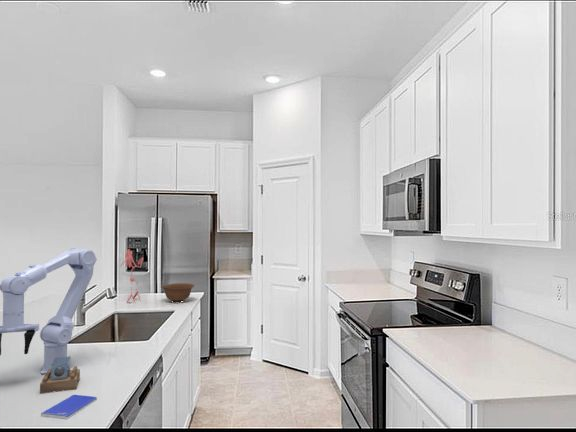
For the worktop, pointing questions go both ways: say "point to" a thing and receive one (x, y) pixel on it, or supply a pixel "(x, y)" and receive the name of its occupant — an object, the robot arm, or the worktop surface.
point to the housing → (60, 368)
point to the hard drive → (69, 407)
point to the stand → (60, 382)
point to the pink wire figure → (128, 261)
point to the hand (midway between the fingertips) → (12, 354)
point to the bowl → (178, 291)
